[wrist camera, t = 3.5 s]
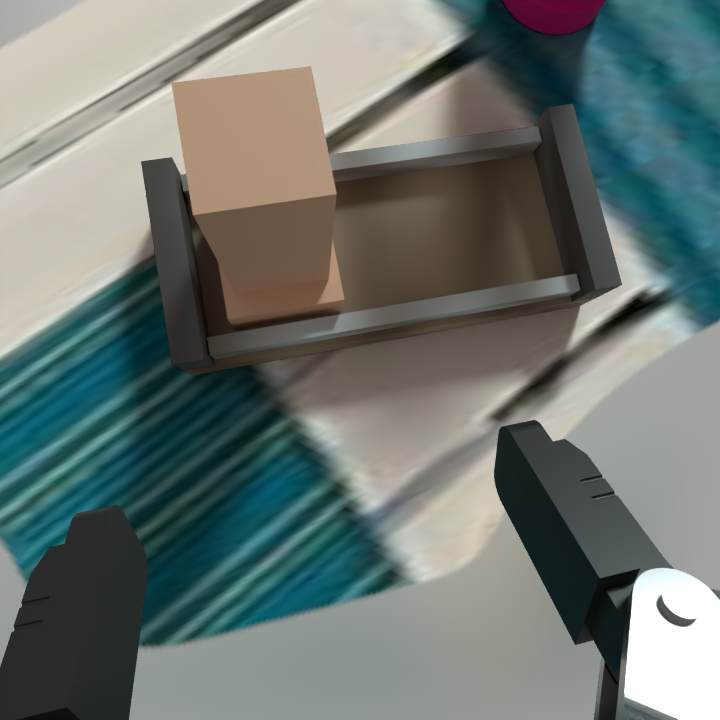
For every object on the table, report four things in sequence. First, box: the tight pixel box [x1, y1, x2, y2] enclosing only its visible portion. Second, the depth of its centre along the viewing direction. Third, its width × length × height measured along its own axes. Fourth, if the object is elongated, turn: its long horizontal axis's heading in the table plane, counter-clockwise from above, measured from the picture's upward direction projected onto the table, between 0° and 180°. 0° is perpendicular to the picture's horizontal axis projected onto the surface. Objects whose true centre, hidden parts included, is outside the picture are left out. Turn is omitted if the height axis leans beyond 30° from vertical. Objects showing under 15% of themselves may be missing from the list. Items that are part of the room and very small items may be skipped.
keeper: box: [172, 67, 344, 329], centre depth 20 cm, size 5×6×10 cm
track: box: [141, 104, 622, 375], centre depth 25 cm, size 20×9×4 cm, turn 102°
